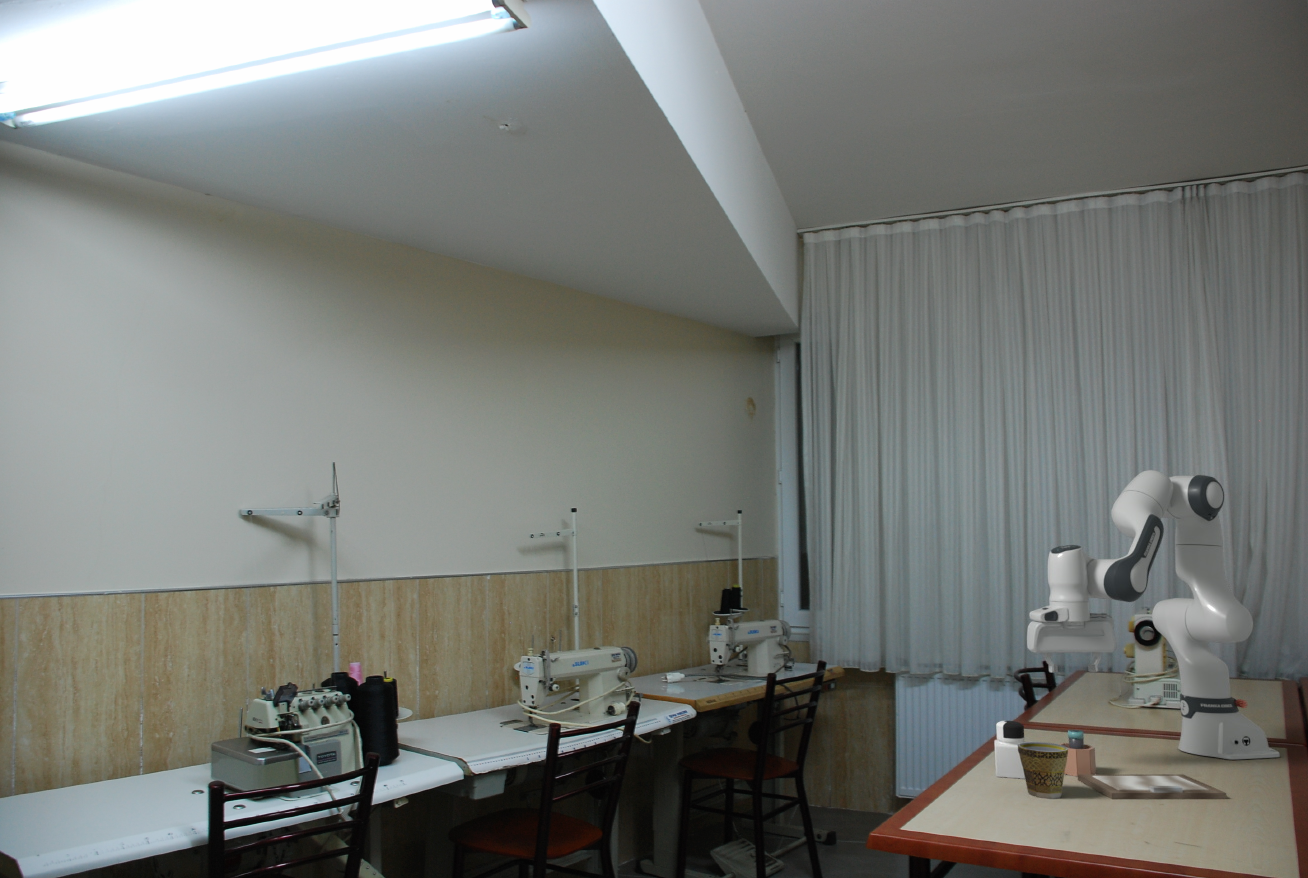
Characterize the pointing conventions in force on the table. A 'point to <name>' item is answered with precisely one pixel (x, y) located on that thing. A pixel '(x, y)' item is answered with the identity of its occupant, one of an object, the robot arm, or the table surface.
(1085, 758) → the pen pot
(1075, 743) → the marker
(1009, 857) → the table surface
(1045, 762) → the ceramic cup
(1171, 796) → the brown picture frame
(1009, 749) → the medicine bottle
